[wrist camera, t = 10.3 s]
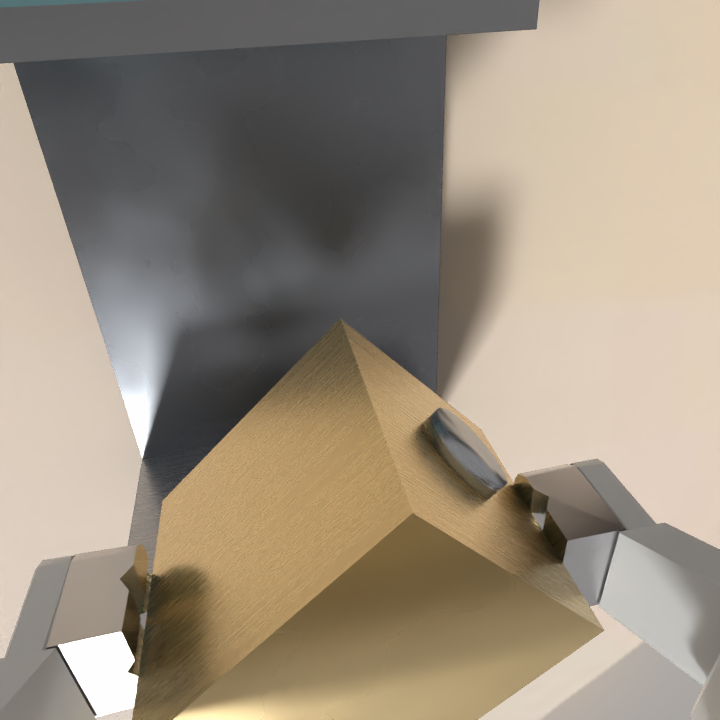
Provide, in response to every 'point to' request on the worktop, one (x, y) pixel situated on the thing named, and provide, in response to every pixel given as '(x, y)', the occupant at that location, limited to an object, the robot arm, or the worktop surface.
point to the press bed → (244, 221)
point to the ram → (235, 24)
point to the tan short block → (351, 561)
